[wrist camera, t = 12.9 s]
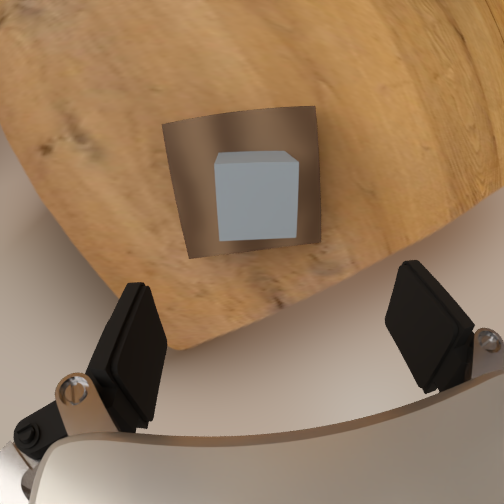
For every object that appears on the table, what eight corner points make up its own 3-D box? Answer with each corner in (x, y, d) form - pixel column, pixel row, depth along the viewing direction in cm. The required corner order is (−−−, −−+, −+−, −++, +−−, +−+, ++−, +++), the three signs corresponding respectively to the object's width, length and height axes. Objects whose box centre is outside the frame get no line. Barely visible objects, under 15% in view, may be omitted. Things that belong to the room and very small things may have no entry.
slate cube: (284, 150, 24) (299, 161, 19) (283, 211, 27) (296, 237, 22) (218, 152, 24) (214, 164, 19) (222, 214, 27) (219, 241, 22)
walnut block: (302, 106, 27) (315, 106, 22) (309, 224, 33) (321, 242, 29) (173, 122, 27) (161, 124, 22) (194, 238, 33) (189, 258, 29)
